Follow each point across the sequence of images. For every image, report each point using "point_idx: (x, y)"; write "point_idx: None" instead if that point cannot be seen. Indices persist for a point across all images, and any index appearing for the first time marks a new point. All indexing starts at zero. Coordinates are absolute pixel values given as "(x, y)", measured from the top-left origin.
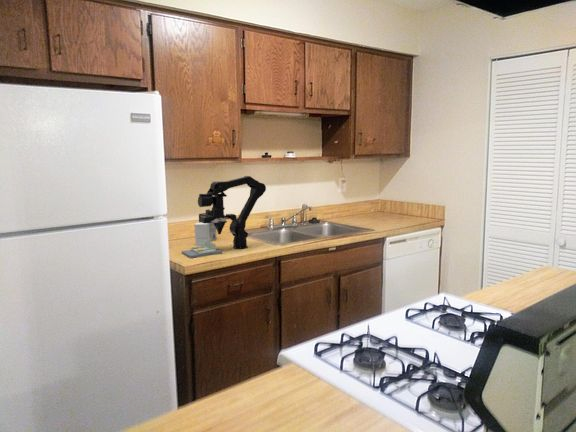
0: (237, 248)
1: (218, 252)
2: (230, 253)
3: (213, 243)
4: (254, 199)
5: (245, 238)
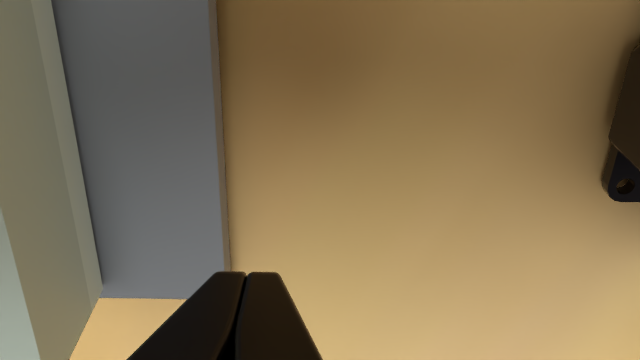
0: (606, 182)
1: (154, 290)
2: (335, 339)
3: (21, 337)
4: None
5: None
